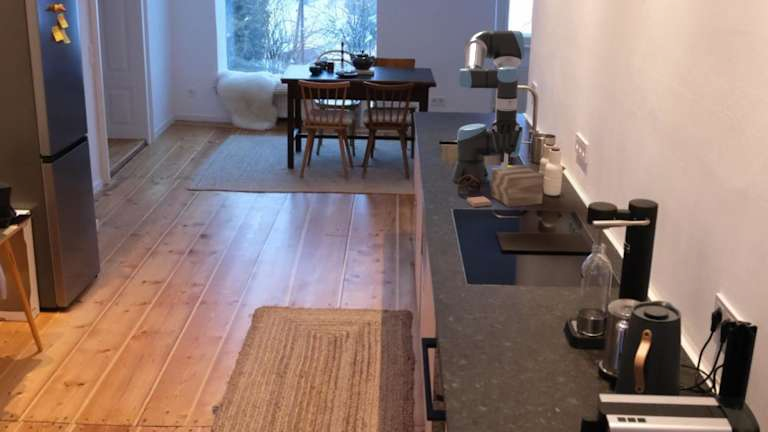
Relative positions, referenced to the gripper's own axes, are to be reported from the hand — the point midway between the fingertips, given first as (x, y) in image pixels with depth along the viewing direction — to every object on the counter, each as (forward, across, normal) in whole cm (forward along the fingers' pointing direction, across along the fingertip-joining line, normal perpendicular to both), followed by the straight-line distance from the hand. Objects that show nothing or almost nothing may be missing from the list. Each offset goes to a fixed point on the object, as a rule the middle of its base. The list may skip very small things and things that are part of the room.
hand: (504, 170), depth 327 cm
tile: (+11, -10, 0) cm, 15 cm away
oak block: (+12, +6, 0) cm, 13 cm away
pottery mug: (+13, -8, +15) cm, 21 cm away
